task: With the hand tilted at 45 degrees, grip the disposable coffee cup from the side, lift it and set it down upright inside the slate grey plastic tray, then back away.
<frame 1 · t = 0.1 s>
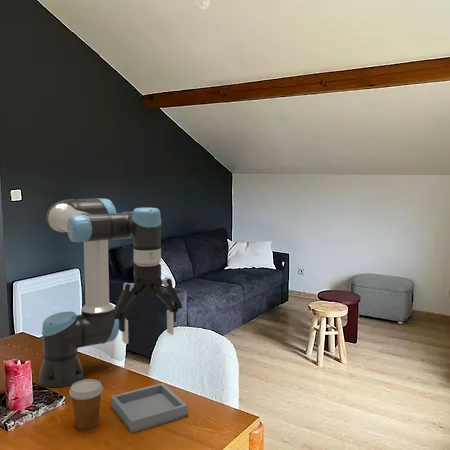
hand: (148, 337, 133), 28 cm above the table, tool pointing down, fingers open, 13 cm apart
disposable coffee cup: (87, 424, 139), on the table
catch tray: (148, 411, 147), on the table
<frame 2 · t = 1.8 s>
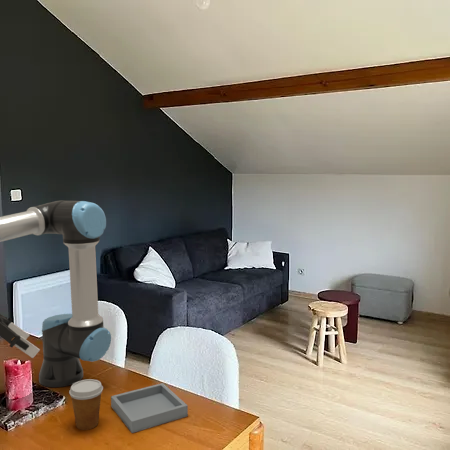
hand: (30, 345, 132), 26 cm above the table, tool tilted 45°, fingers open, 13 cm apart
nothing on the table moved.
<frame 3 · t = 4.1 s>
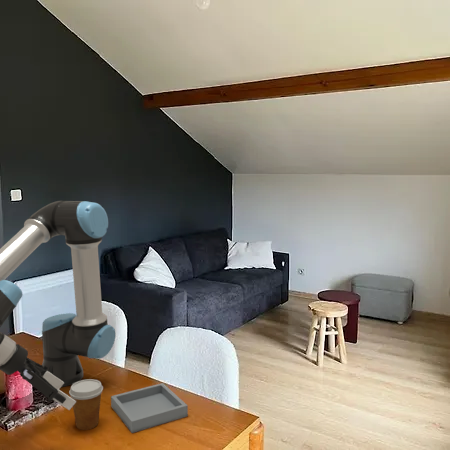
hand: (66, 395, 134), 11 cm above the table, tool tilted 45°, fingers open, 13 cm apart
nothing on the table moved.
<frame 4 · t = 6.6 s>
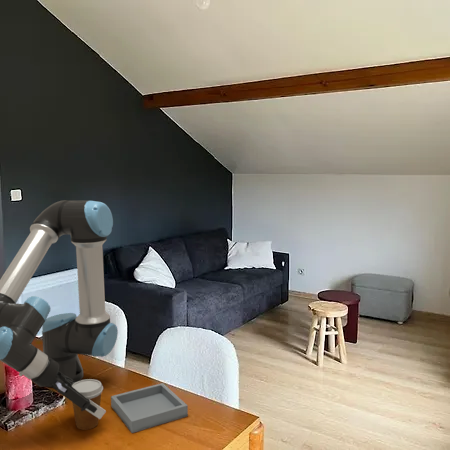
hand: (97, 407, 141), 4 cm above the table, tool tilted 45°, fingers closed on disposable coffee cup, 9 cm apart
disposable coffee cup: (87, 424, 139), on the table, touching gripper
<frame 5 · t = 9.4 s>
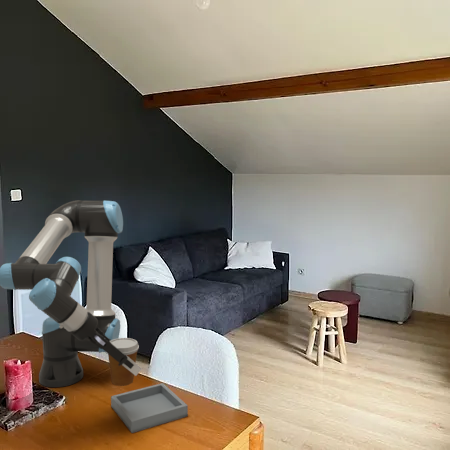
hand: (132, 365, 142), 16 cm above the table, tool tilted 45°, fingers closed on disposable coffee cup, 9 cm apart
disposable coffee cup: (122, 382, 141), point 12 cm above the table, touching gripper
when the fingers open (7 cm above the table, at t = 12.4 s): disposable coffee cup drops 2 cm, resting on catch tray.
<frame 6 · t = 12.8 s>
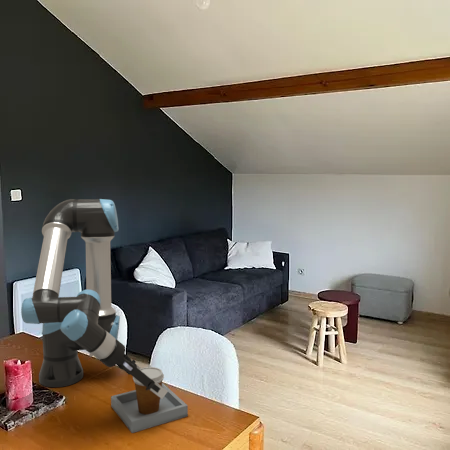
hand: (155, 386, 148), 8 cm above the table, tool tilted 45°, fingers open, 13 cm apart
disposable coffee cup: (148, 410, 147), point 1 cm above the table, touching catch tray
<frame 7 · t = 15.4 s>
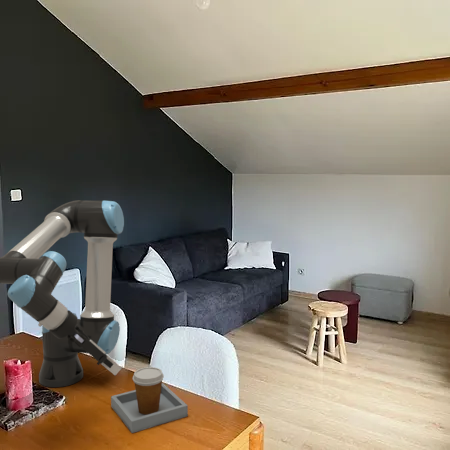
hand: (110, 363, 139), 18 cm above the table, tool tilted 40°, fingers open, 13 cm apart
nothing on the table moved.
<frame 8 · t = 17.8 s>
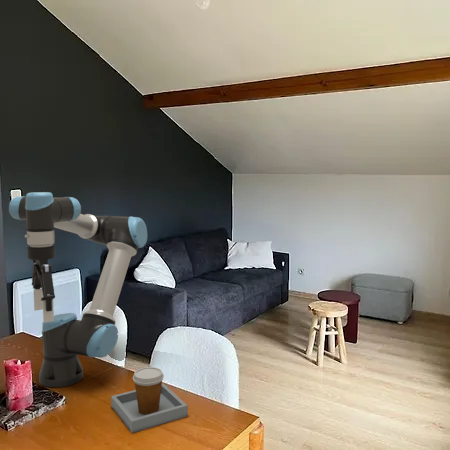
hand: (43, 315, 140), 32 cm above the table, tool pointing down, fingers open, 13 cm apart
nothing on the table moved.
at the end: disposable coffee cup inside the target area on the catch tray (0.5 cm from its centre), point 0.6 cm above the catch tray's base; disposable coffee cup tilted 0°; the gripper is holding nothing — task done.
